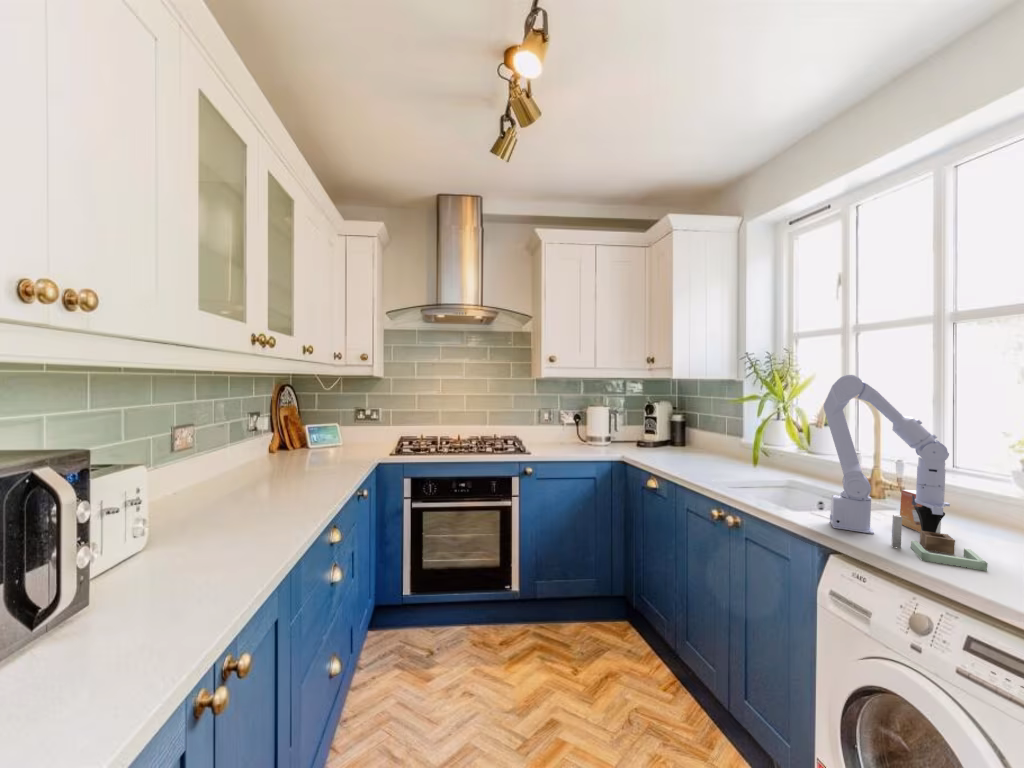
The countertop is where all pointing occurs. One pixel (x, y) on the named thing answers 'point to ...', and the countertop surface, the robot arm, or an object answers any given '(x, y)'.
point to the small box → (911, 511)
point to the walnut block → (937, 542)
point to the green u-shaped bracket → (951, 558)
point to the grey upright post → (896, 531)
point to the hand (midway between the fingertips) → (928, 535)
